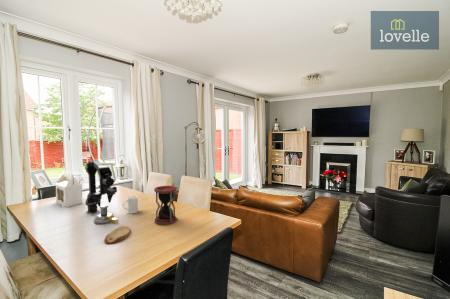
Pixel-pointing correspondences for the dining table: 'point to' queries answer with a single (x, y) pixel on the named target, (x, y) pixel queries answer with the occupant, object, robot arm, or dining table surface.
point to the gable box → (68, 190)
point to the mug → (132, 204)
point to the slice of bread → (117, 235)
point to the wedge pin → (103, 210)
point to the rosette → (105, 219)
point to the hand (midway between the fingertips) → (104, 204)
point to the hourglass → (165, 205)
